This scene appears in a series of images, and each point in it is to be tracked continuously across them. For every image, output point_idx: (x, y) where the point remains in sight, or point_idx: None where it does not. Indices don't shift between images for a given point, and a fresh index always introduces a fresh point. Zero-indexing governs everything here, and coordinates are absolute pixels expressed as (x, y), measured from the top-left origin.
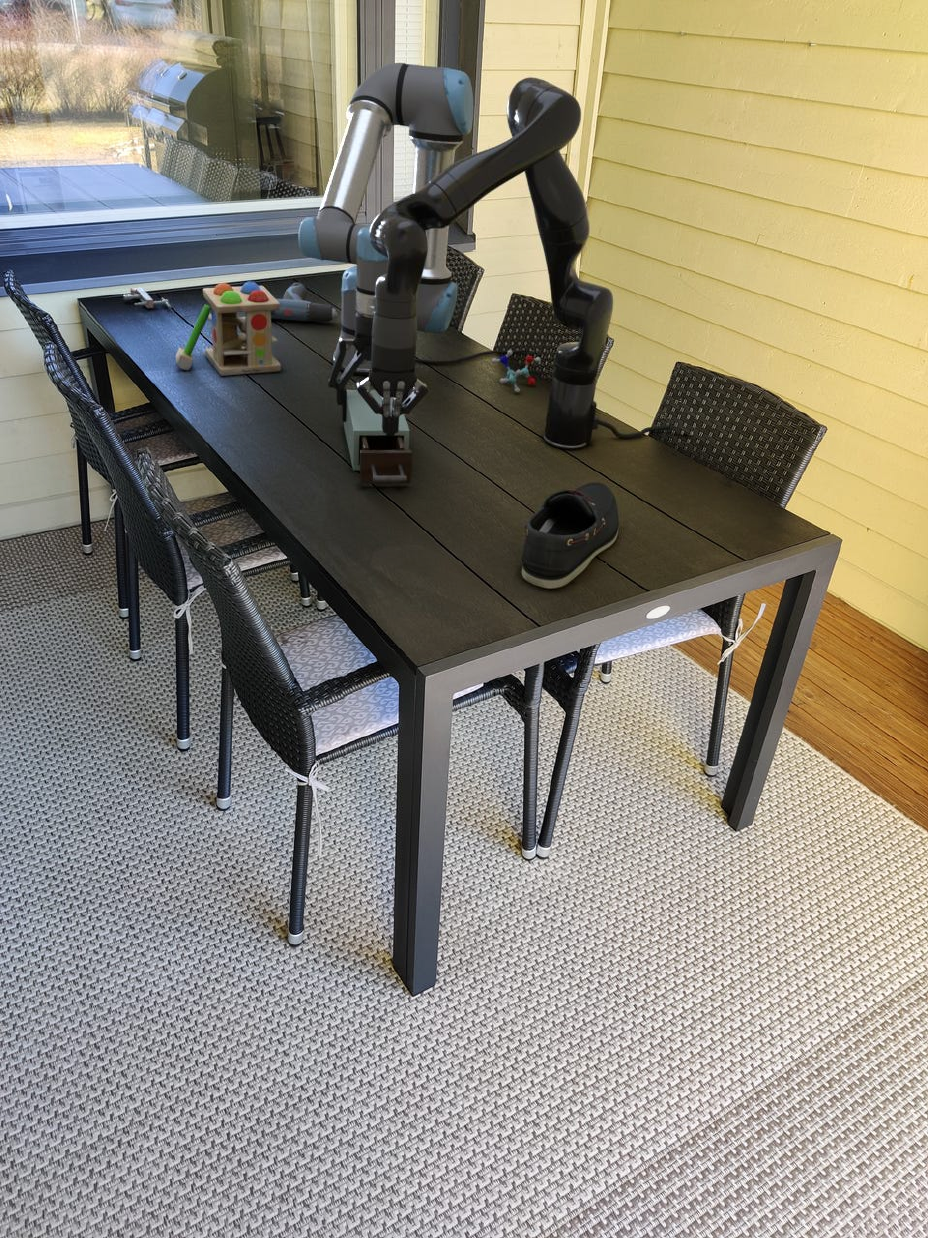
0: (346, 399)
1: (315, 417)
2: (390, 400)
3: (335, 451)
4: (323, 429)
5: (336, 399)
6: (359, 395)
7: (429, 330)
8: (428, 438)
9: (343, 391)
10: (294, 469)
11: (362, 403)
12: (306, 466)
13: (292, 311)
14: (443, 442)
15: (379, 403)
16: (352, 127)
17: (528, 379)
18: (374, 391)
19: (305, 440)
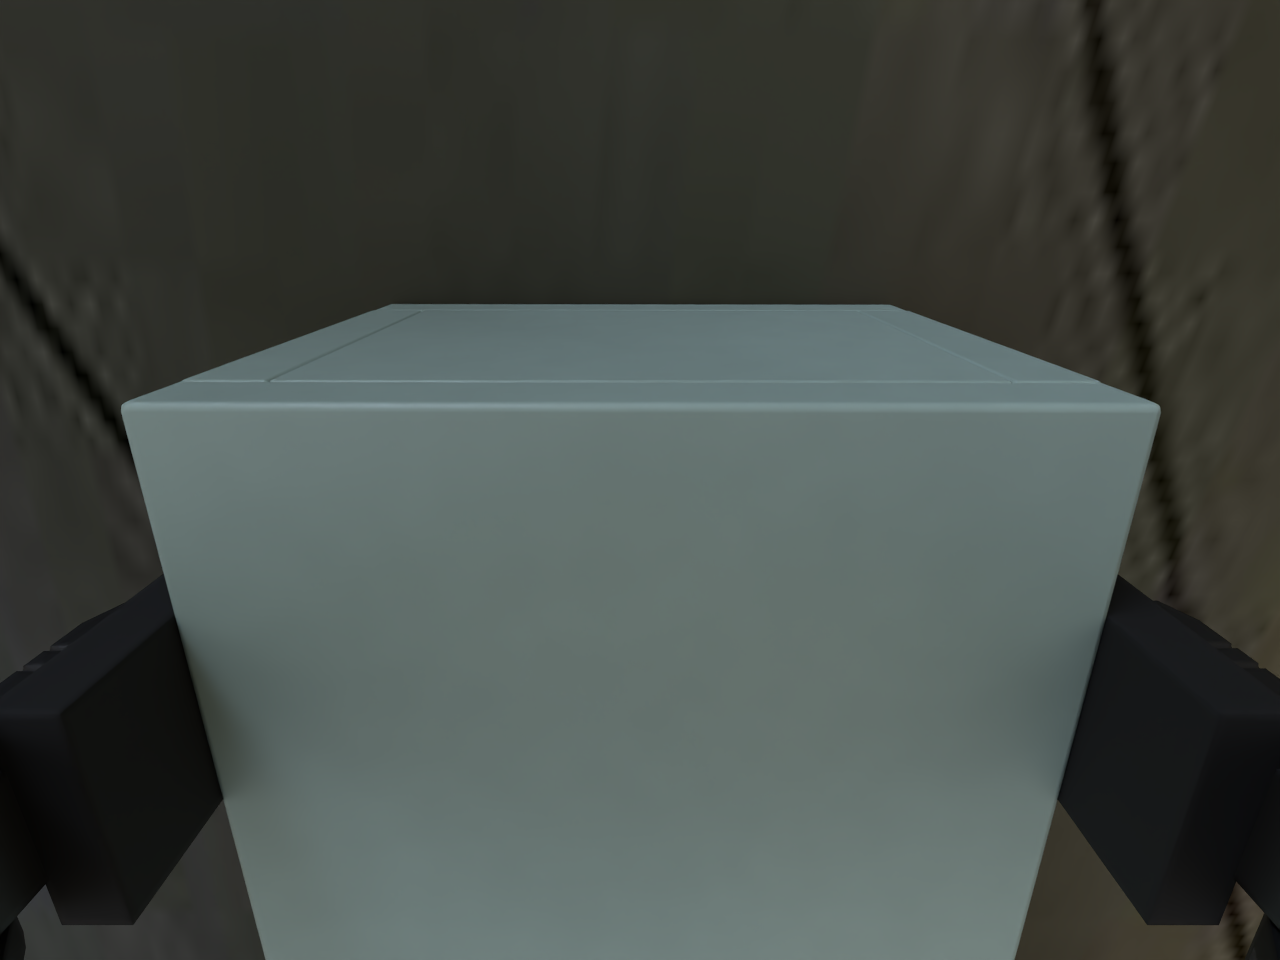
0: (218, 797)
1: (51, 11)
2: (908, 826)
3: None
4: (193, 348)
5: (78, 627)
6: (420, 663)
7: None
8: (1135, 536)
9: (69, 923)
10: (106, 954)
11: (467, 917)
12: (173, 925)
13: None
14: (1230, 609)
15: (716, 917)
16: None
17: None
18: (710, 490)
19: (78, 572)
